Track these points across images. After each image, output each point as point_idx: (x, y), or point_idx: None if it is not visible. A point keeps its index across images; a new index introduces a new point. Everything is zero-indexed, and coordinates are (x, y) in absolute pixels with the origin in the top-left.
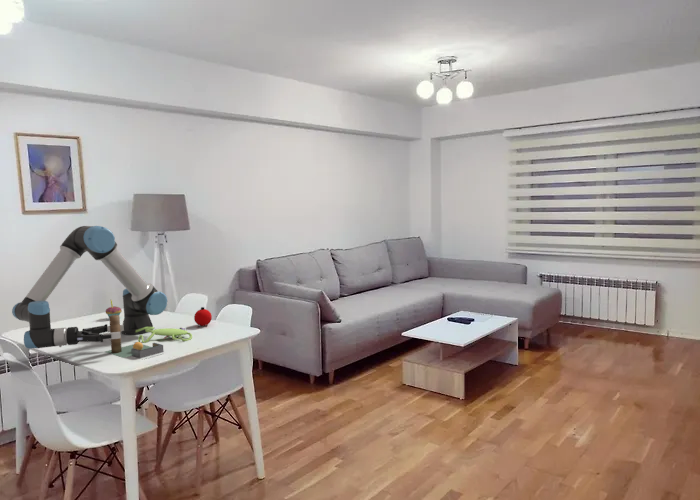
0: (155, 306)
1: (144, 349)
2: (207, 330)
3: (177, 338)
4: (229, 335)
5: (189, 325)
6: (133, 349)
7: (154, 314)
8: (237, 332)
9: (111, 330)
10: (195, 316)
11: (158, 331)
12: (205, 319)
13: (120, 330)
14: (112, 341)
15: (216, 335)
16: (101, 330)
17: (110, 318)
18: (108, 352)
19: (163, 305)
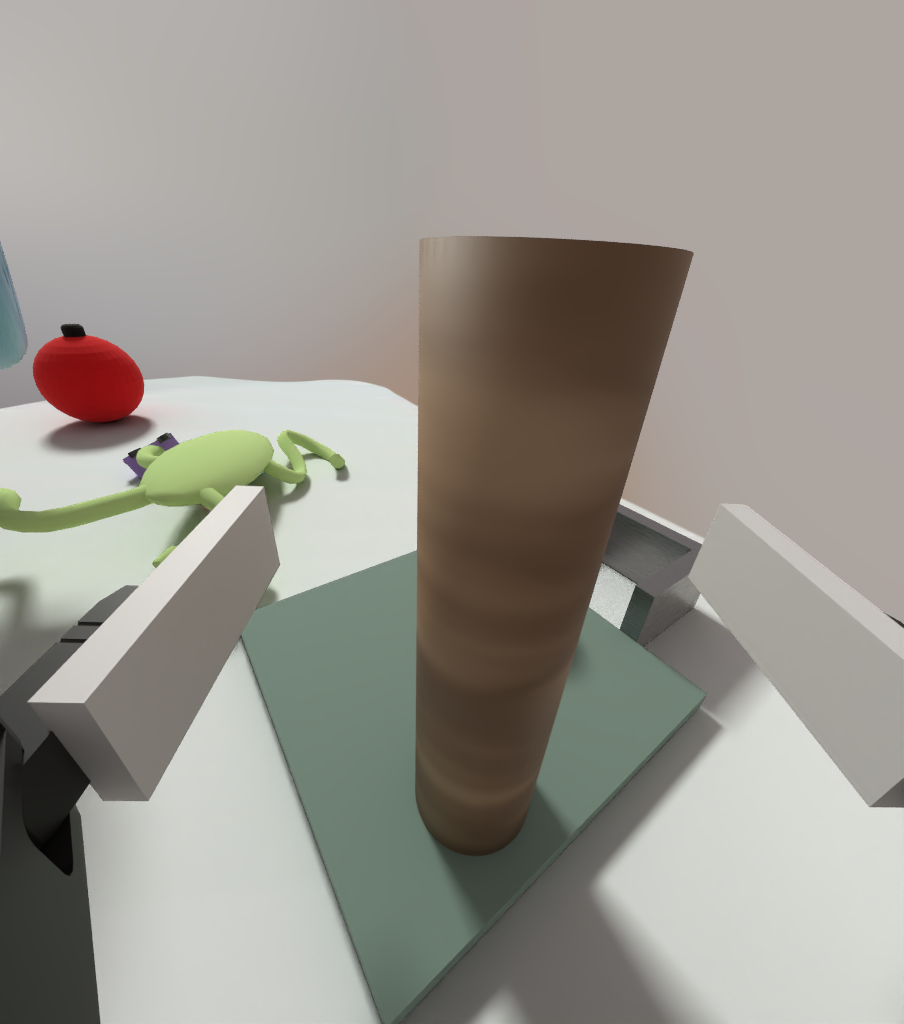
0: (3, 271)
1: (670, 534)
2: (217, 420)
3: (304, 470)
4: (358, 403)
5: (19, 441)
6: (674, 584)
7: (15, 361)
8: (333, 393)
9: (587, 600)
10: (77, 376)
11: (217, 472)
12: (140, 381)
13: (261, 582)
14: (549, 733)
15: (329, 415)
16: (61, 979)
17: (665, 311)
18: (464, 912)
19: (10, 276)
